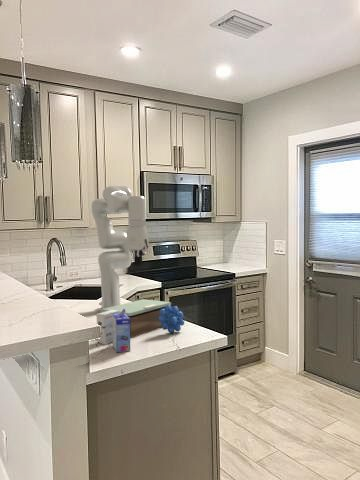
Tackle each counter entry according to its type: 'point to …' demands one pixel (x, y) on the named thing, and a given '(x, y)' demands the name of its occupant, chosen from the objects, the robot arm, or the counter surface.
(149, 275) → the counter surface
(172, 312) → the grapes
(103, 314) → the ink box
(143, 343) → the counter surface
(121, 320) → the ink cartridge box
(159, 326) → the storage box
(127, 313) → the lid
